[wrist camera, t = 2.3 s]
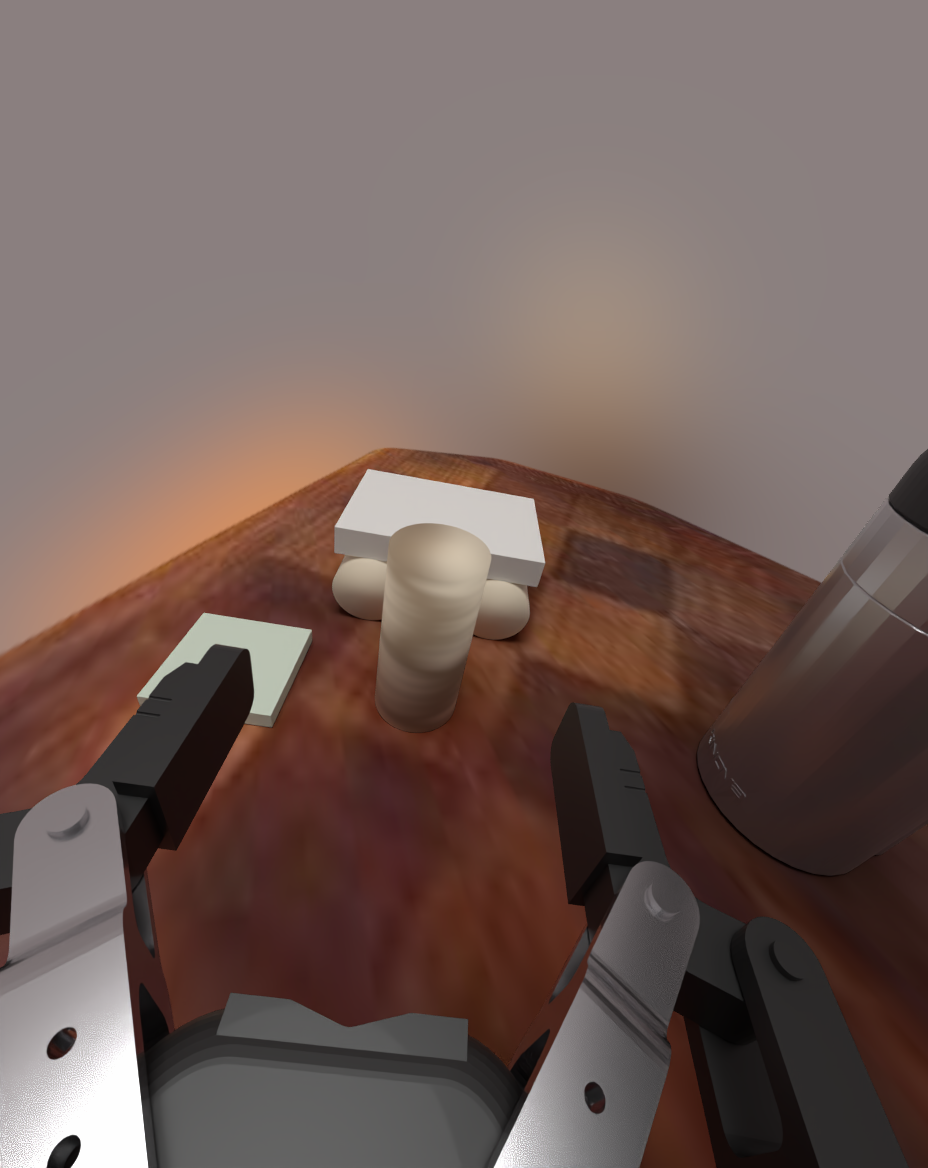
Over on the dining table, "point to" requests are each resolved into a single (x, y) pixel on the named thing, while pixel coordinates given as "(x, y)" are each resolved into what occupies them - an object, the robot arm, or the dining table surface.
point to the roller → (427, 622)
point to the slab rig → (414, 501)
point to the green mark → (269, 649)
